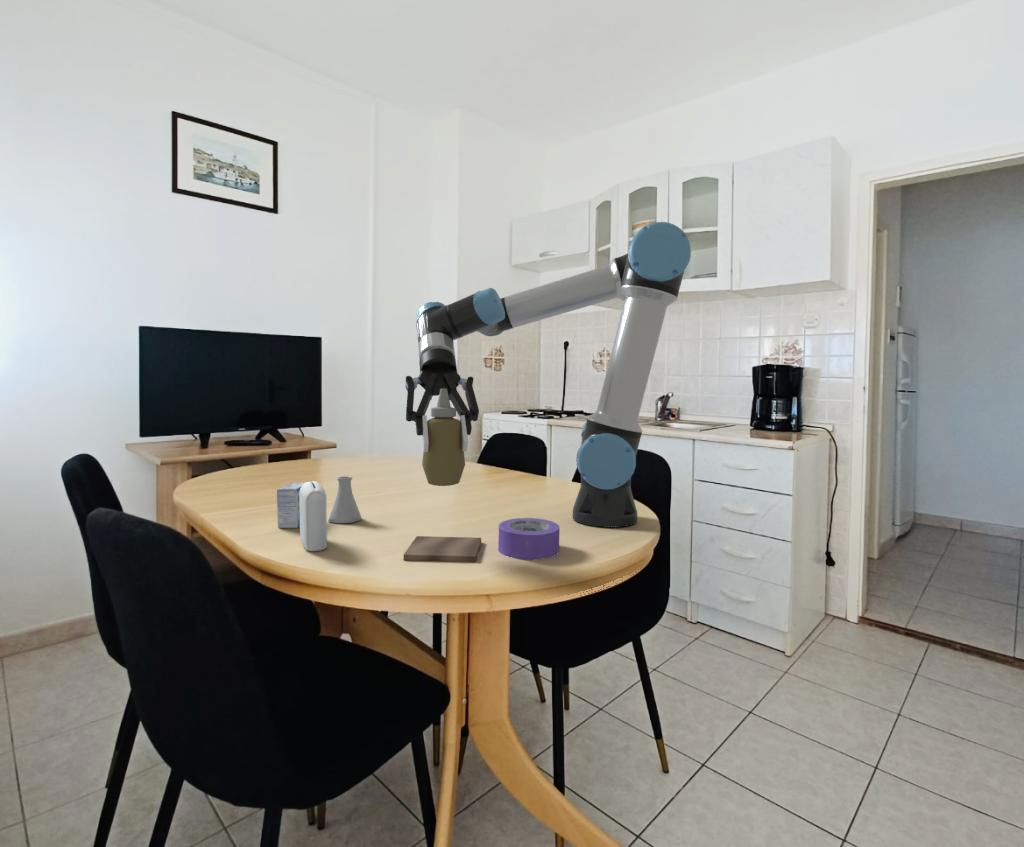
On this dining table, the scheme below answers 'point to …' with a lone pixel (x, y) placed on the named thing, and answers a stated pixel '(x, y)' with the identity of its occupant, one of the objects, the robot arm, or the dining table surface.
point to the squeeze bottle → (444, 445)
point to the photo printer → (313, 516)
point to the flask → (344, 503)
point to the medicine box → (289, 506)
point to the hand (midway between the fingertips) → (445, 446)
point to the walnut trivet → (443, 549)
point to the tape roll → (528, 538)
